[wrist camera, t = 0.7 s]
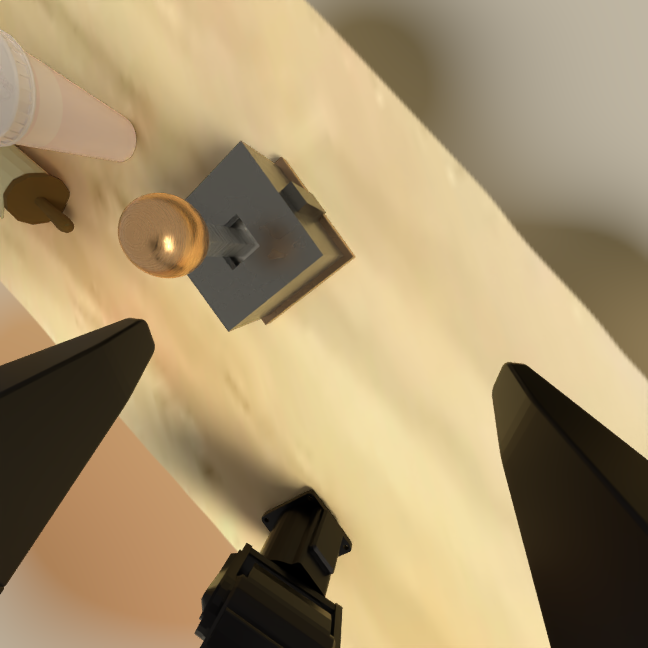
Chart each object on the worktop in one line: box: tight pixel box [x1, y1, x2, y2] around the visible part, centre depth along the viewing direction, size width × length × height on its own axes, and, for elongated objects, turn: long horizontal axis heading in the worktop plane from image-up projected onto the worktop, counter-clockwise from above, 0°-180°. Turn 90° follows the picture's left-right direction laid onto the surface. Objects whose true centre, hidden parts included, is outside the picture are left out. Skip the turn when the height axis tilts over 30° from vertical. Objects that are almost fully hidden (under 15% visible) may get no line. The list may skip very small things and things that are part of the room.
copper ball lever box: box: [185, 141, 355, 332], centre depth 23 cm, size 9×9×7 cm
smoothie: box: [0, 29, 136, 162], centre depth 22 cm, size 6×6×14 cm
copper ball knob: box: [118, 193, 259, 278], centre depth 17 cm, size 6×6×9 cm
